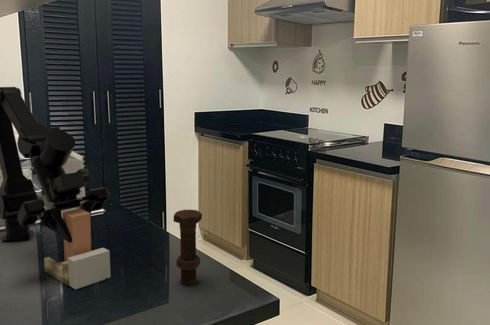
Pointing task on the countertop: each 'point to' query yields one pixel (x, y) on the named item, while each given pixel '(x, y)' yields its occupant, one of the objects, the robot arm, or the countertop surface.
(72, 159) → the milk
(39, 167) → the robot arm
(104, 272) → the stop block
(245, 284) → the countertop surface
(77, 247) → the orange rectangular block
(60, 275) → the cradle
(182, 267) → the bolt
